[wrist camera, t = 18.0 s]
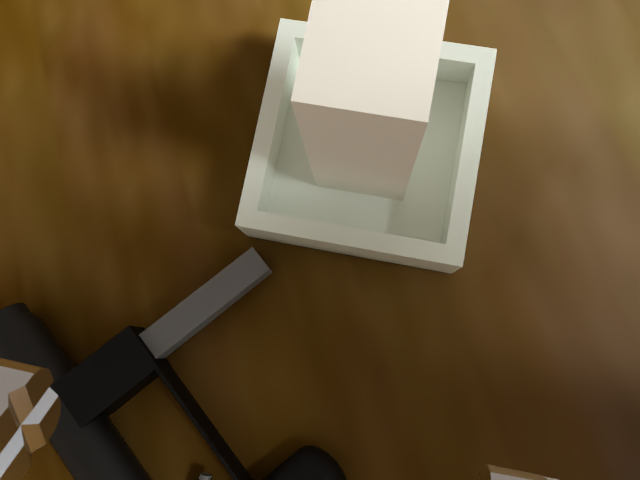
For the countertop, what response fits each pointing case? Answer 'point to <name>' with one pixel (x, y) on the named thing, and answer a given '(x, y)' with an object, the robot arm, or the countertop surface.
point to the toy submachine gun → (140, 382)
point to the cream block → (367, 90)
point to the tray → (361, 209)
